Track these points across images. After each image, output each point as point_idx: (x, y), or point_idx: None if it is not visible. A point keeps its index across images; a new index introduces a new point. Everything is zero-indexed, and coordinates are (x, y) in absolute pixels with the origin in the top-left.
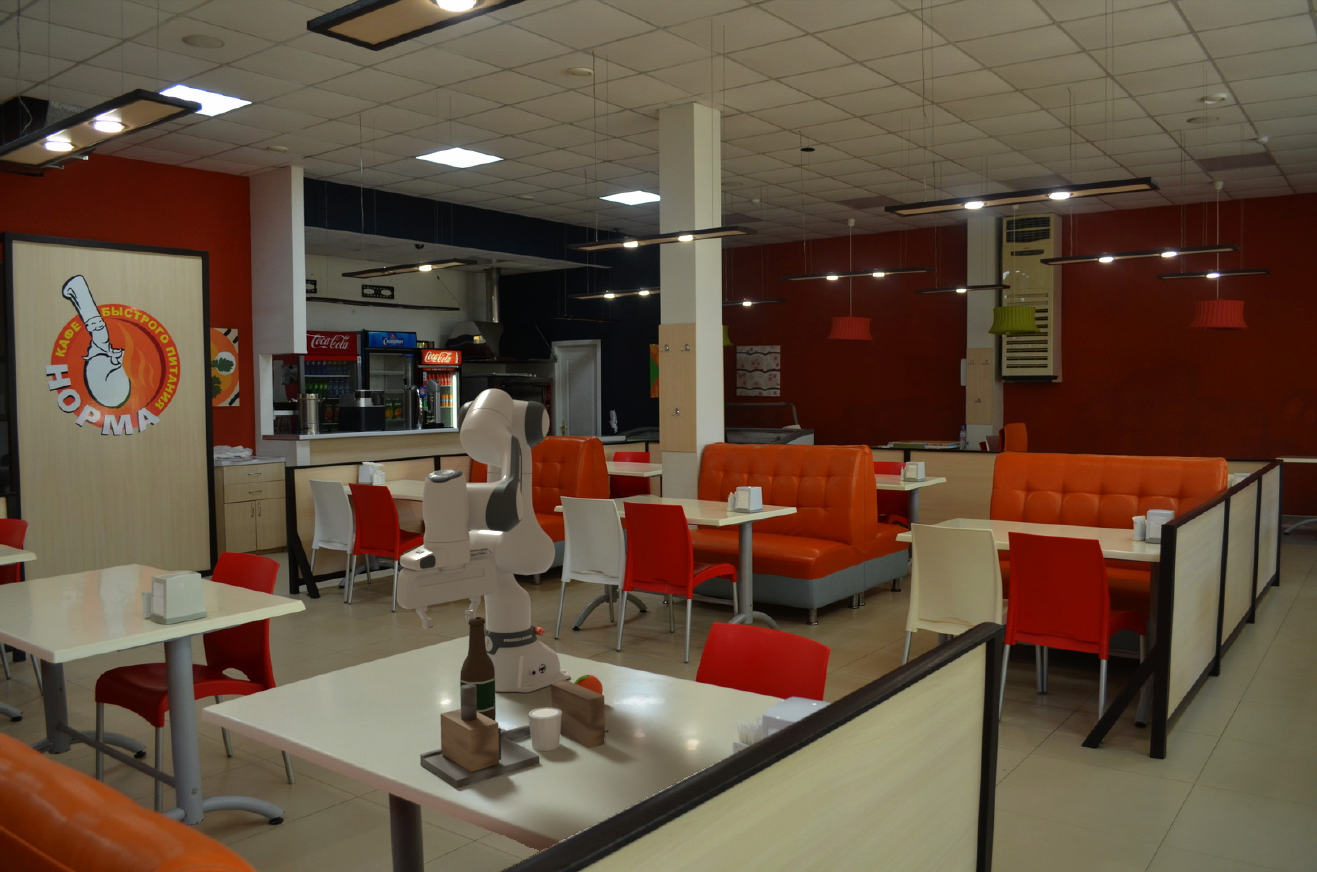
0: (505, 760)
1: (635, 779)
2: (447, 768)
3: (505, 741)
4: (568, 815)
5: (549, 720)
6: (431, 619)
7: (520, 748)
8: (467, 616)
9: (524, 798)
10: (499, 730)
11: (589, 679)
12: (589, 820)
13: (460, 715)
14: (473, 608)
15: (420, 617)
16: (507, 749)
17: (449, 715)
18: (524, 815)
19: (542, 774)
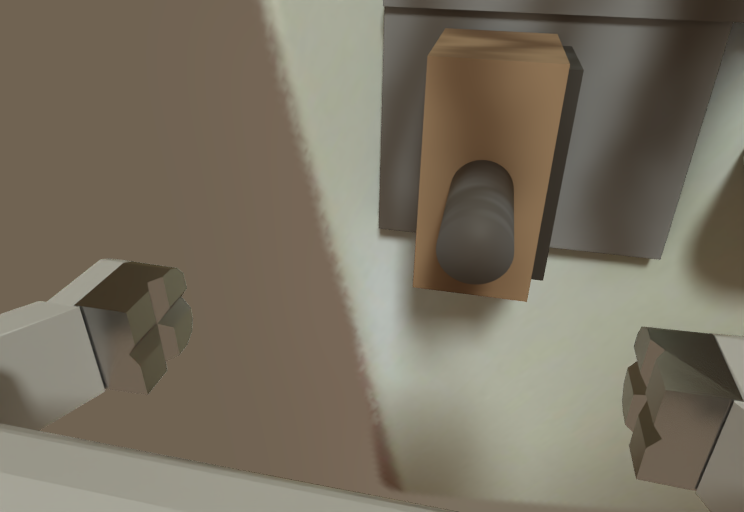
0: (562, 216)
1: None
2: (402, 141)
3: (691, 80)
4: (480, 465)
5: None
6: (136, 388)
7: (670, 174)
8: (640, 377)
9: (468, 364)
10: (537, 276)
11: None
12: (493, 498)
13: (476, 139)
14: (725, 505)
15: (22, 311)
16: (635, 148)
17: (443, 104)
18: (418, 412)
19: (597, 306)
